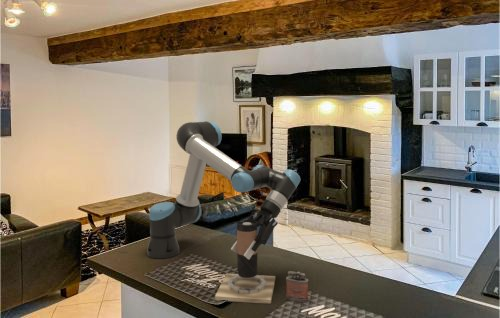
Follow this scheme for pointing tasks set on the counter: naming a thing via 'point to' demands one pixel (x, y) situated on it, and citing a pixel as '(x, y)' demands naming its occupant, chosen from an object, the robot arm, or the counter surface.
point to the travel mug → (244, 240)
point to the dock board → (259, 297)
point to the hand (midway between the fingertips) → (239, 254)
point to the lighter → (297, 287)
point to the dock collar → (246, 290)
